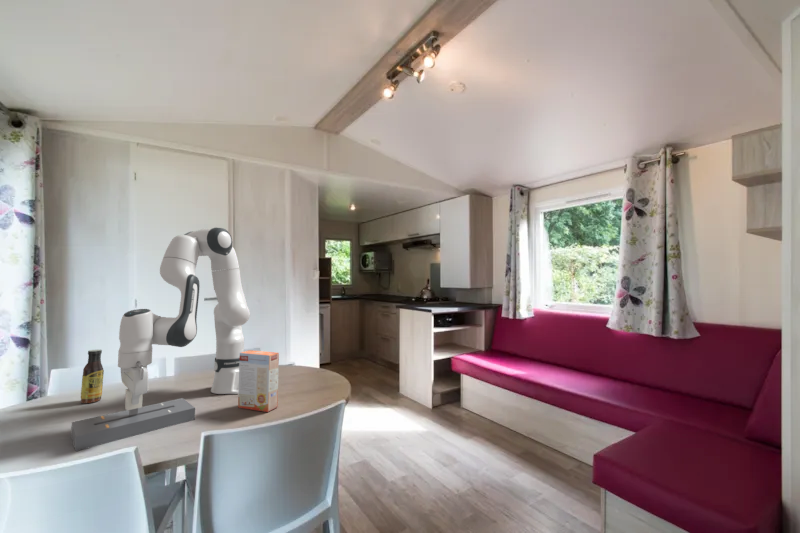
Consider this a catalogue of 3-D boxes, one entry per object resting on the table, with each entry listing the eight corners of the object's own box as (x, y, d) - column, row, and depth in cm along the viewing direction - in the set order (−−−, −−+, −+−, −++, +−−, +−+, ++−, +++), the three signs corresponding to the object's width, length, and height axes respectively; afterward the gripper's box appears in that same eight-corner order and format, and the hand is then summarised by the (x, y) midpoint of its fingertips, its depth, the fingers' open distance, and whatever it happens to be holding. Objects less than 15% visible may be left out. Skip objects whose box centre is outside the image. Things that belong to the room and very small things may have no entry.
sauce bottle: (88, 404, 130) (91, 352, 131) (75, 403, 131) (78, 351, 132) (106, 399, 137) (108, 349, 137) (94, 397, 138) (96, 348, 139)
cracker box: (278, 407, 130) (279, 352, 131) (267, 413, 124) (269, 355, 125) (249, 402, 134) (250, 349, 135) (237, 408, 129) (238, 352, 130)
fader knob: (139, 410, 114) (140, 386, 114) (142, 413, 112) (142, 388, 112) (124, 414, 111) (125, 389, 111) (126, 416, 109) (127, 391, 109)
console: (182, 408, 127) (182, 397, 128) (194, 419, 118) (195, 407, 118) (71, 435, 105) (71, 421, 105) (75, 451, 96) (76, 436, 96)
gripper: (155, 363, 107) (153, 407, 106) (140, 353, 121) (138, 392, 120) (129, 366, 102) (127, 413, 102) (117, 355, 116) (115, 397, 116)
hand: (133, 402), depth 111 cm, fingers closed on fader knob, 3 cm apart
